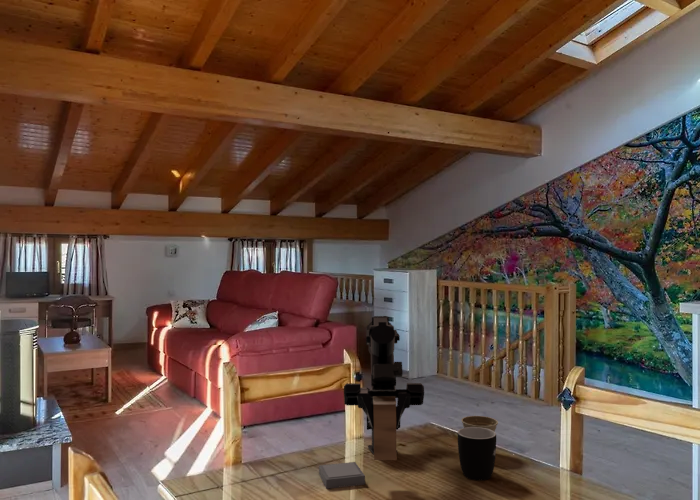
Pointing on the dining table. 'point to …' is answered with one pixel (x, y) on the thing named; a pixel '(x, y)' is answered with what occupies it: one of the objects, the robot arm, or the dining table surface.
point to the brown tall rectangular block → (384, 427)
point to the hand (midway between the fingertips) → (384, 427)
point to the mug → (477, 452)
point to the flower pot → (479, 422)
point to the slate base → (341, 475)
